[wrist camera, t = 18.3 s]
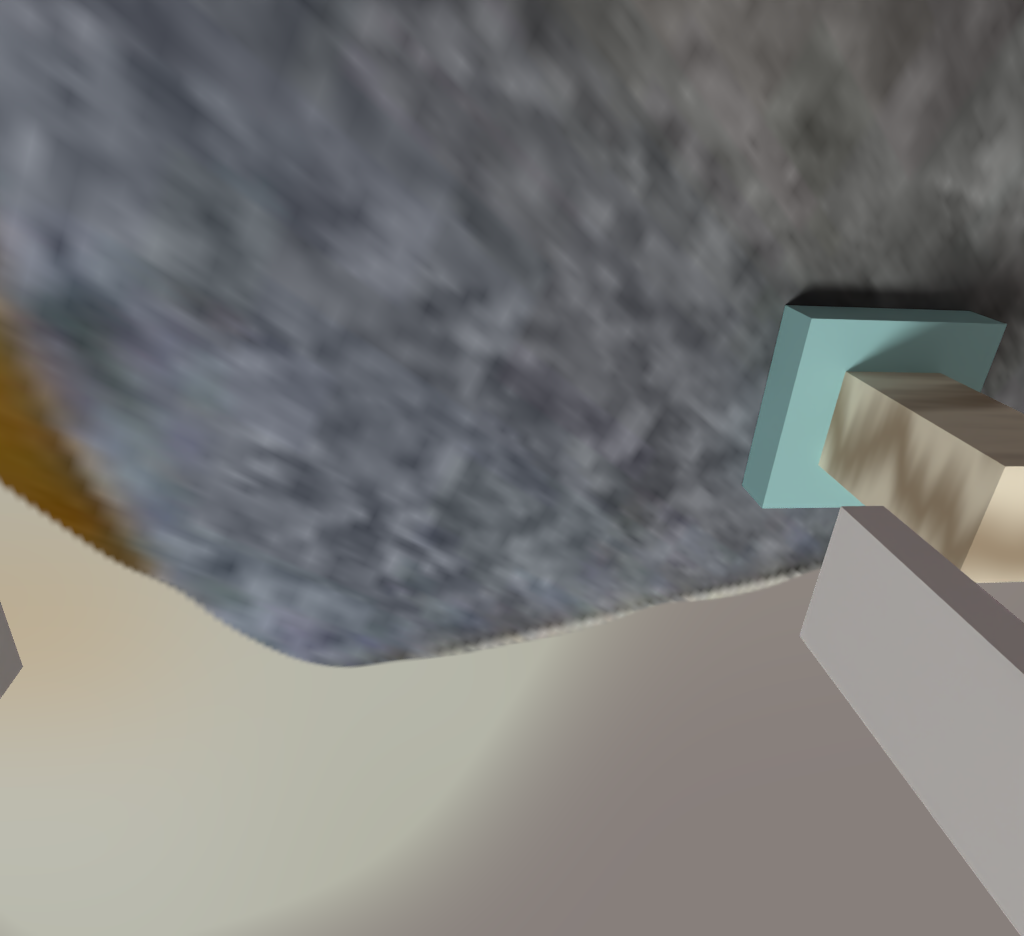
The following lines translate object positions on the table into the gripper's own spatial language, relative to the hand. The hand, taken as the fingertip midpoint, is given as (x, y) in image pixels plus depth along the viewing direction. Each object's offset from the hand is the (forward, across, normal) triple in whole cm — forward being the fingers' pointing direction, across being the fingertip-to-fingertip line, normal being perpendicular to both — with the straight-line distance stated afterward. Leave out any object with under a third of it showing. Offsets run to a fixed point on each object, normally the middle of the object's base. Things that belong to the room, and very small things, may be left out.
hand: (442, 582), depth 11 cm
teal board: (+29, +27, -8) cm, 40 cm away
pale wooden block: (+26, +27, -8) cm, 38 cm away
